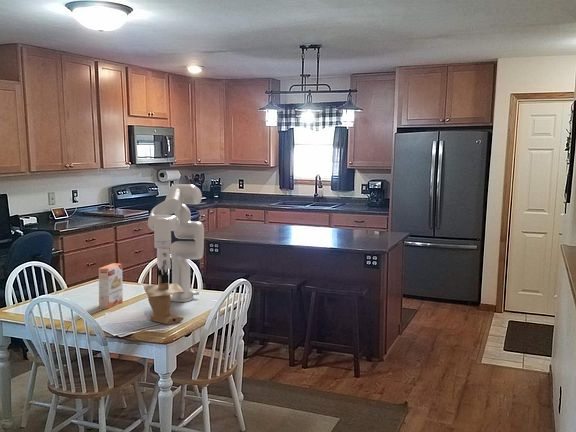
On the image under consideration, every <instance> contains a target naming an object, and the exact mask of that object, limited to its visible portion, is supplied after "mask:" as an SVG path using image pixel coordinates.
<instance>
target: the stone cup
mask: <svg viewBox="0 0 576 432" xmlns="http://www.w3.org/2000/svg"><path fill="white" fill-rule="evenodd" d="M170 296H171V295H163V296H152V297H148V296H147V300H148V303H149V305H150V308H151V309H152V312H153V315H151V316H150V318H149V319H150V320H151V321H153V322H156V323H160V324H164V325H173V324H179V323H181V322H182V321H184V317H183V316H180V315H176V314H173V313H171V302H172V301H171V298H170Z"/></svg>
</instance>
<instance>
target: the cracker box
mask: <svg viewBox="0 0 576 432" xmlns="http://www.w3.org/2000/svg"><path fill="white" fill-rule="evenodd" d="M123 301H124V300H123V263H118V262H117V263H114V262H113V263H110V264H108V265H104V266H102V267H99V268H98V308H99V309H111V308H113V307H115V306H117V305H119V304H122V303H123Z"/></svg>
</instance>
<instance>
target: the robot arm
mask: <svg viewBox="0 0 576 432" xmlns="http://www.w3.org/2000/svg"><path fill="white" fill-rule="evenodd" d="M202 197H203V194H202V191H201V189H200V188H199V187H197V186H196V185H194V184H190V183H189V184H187V183H186V184H185V183H184V184H181V183H176V184H172V185H171V186H170V187H169V188H168V191H167V194H166V197H165V200H164V201H162V202H160V203H158V204H157V205H155V206H154V207H153V208H152V209H151V210H150V213H149V216H148V219H147V220H148V221H147V227H148V228H149V230H151V231H153V235H154V241H153V243H154V249H156V263H157V265H156V266H157V267H158V270H157V276H158V275H161V283H169V281H170V280H169V279H170V278H169V277H170V276H169V275H170V274H169V270H171V273H172V274H171V275H172V276H171V279H172V280H171V281H172V282H171V284H176V283H178V285H179V286H180V287H181V288H182V289H183V291H184V294H175V295H170V298H171V302H174V303H186V302H190V301H192V300H193V299H194V296H200V291H199V290H198V291H196V290H191V266H190V265H191V264H189V262H188V260H200V259H202V258H203V256H204V247H205V245H204V244H205V226H204V224H203V222H201V221H195V220H194V221H193V220H191V217H192V216H191V210H190V209H189V207H188V206H187V205H199V204H200V203H201V202H202ZM173 214H174V215H173ZM172 232H173V235H174V236H175V238H177V239H180V240H178V241H177V240H176V241H174V242H172ZM181 239H183V240H181ZM186 239H187V241H186ZM184 240H185V241H184ZM188 240H194V241H188ZM169 284H170V283H169Z"/></svg>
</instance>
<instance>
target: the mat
mask: <svg viewBox="0 0 576 432" xmlns="http://www.w3.org/2000/svg"><path fill="white" fill-rule="evenodd" d="M104 315H105V321H106V324H107V325H113V324H121V323H123V324H124V323H129V322H130V323H131V322H142V321H148V319H147V316H146V314H145V312H144V309H143V308H141V309H131V310H119V311H110V312H104Z"/></svg>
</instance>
